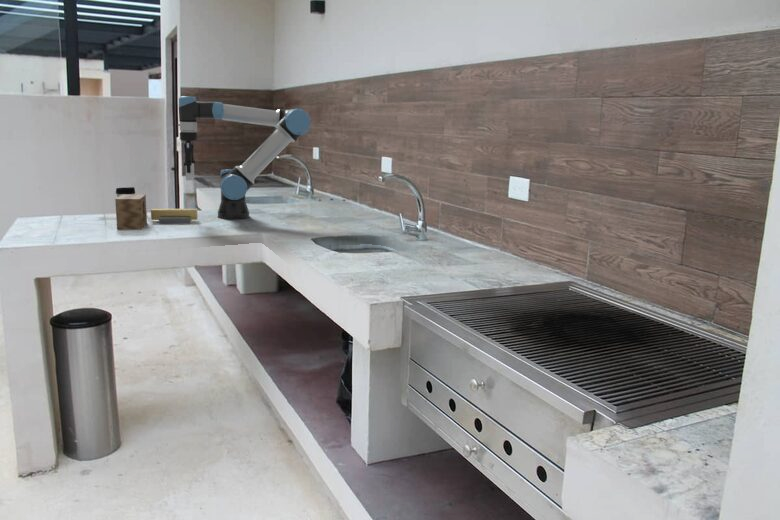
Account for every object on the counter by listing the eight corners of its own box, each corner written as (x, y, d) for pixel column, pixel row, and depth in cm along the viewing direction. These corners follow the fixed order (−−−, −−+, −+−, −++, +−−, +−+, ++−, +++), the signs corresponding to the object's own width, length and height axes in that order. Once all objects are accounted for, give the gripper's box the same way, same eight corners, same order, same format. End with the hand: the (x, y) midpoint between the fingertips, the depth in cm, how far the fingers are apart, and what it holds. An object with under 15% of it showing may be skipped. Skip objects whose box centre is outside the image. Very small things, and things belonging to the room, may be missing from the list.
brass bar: (197, 218, 305) (197, 208, 304) (197, 219, 301) (196, 210, 300) (152, 218, 300) (151, 208, 299) (151, 219, 296) (150, 210, 295)
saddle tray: (191, 219, 308) (191, 213, 308) (189, 223, 296) (189, 218, 295) (162, 219, 305) (162, 213, 305) (159, 224, 293) (158, 218, 292)
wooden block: (147, 223, 294) (145, 194, 291) (141, 229, 279) (140, 199, 276) (123, 223, 292) (121, 194, 289) (117, 229, 277) (115, 199, 274)
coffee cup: (132, 221, 297) (130, 188, 294) (114, 220, 297) (112, 188, 294) (139, 218, 306) (138, 186, 302) (121, 218, 306) (120, 186, 302)
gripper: (182, 130, 304) (183, 176, 309) (177, 132, 281) (179, 181, 285) (198, 131, 306) (200, 176, 311) (195, 132, 282) (197, 181, 287)
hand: (190, 178), depth 298 cm, fingers open, 13 cm apart
